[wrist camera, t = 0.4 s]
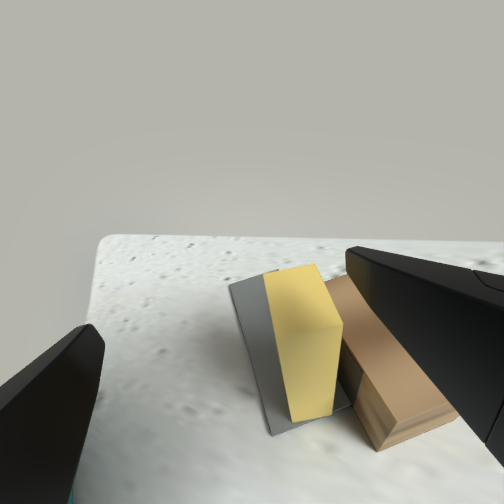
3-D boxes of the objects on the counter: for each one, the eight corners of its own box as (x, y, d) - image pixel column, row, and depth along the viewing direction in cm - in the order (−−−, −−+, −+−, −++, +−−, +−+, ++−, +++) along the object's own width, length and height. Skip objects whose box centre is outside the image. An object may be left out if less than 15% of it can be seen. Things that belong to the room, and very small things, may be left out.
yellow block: (331, 415, 18) (343, 323, 11) (292, 422, 19) (276, 337, 11) (315, 363, 22) (315, 263, 14) (281, 369, 22) (262, 273, 14)
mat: (350, 405, 19) (351, 404, 19) (272, 436, 18) (271, 435, 18) (278, 271, 31) (278, 269, 31) (230, 286, 31) (229, 284, 30)
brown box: (453, 420, 17) (497, 381, 13) (369, 455, 17) (386, 426, 13) (366, 310, 25) (376, 264, 21) (305, 332, 24) (303, 288, 20)
